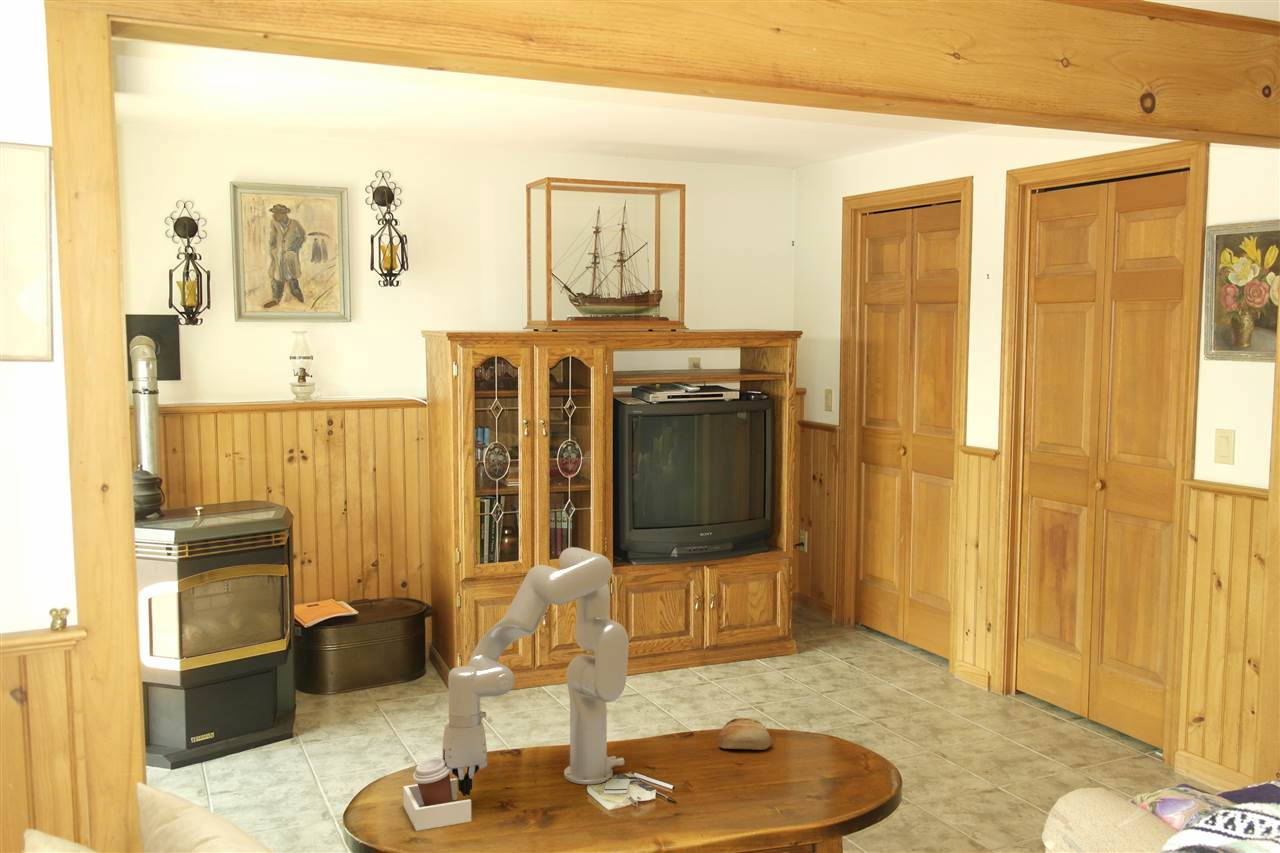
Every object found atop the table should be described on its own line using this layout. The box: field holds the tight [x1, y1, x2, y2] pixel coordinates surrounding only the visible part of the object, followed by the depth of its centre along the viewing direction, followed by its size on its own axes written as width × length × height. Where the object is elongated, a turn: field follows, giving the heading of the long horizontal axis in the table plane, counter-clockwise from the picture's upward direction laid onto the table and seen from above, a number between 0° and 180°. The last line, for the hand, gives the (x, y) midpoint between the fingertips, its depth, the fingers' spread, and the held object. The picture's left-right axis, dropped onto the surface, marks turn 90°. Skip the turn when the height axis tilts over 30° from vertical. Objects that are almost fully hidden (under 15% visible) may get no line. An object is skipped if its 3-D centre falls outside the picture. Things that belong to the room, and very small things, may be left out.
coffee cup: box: [412, 757, 454, 807], centre depth 262 cm, size 9×9×12 cm
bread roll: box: [717, 717, 772, 751], centre depth 307 cm, size 10×15×8 cm, turn 94°
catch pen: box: [403, 777, 472, 832], centre depth 263 cm, size 13×14×5 cm
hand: (465, 793), depth 265 cm, fingers closed
